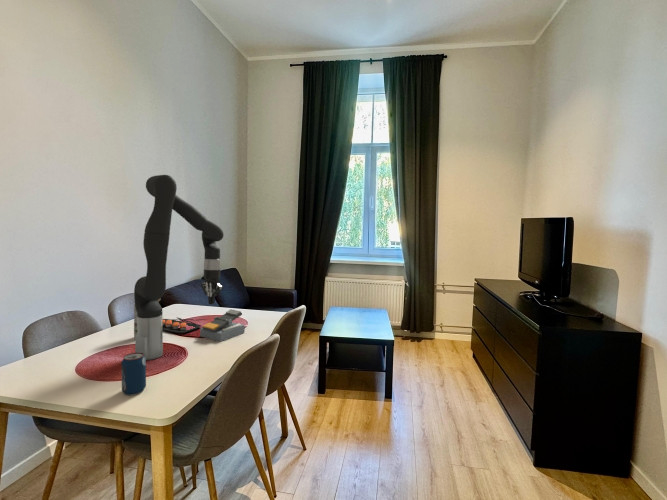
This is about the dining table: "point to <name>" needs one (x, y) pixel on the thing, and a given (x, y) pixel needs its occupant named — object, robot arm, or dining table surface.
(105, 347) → the dining table surface
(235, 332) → the switch box
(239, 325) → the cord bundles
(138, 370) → the soda can
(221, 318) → the breaker rocker
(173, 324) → the sushi plate
